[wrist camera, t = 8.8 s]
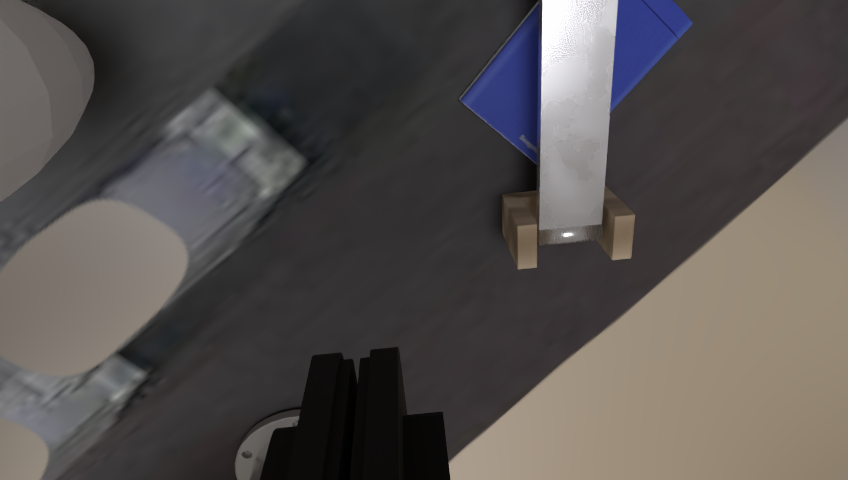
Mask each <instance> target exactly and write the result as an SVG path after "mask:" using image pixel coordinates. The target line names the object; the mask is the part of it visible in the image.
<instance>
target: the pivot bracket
mask: <svg viewBox="0 0 848 480" xmlns="http://www.w3.org/2000/svg"><path fill="white" fill-rule="evenodd" d="M501 197H502V233H503V236H504V238H505V240H506V243H507V245H508V247H509V250H510V252H511V254H512V257H513V259H514V261H515V264H516V266H517V268H518V269H526V268H537V223H536V204H537V191H527V192H517V193H506V194H501ZM634 220H635V214H634V213H633V212H632V211H631V210H630V209H629V208H627V207H626V206H625V205H624V204H623V203H622V202H621V201H620V200H619V199H618V198H617V197H616V196H615V195H614V194H613V193H612V192H611V191H610V190H609V189H608V188H607V187H606V186H605V188H604V202H603V215H602V227H603V237H602V239H601V240H598V243H599V244H600V245H601V246H602V248H603V249H604V250H605V252H606V253H607V254H608V255H609V257H610V258H611V259H612V260H619V259H629V258H631V252H632V242H633V231H634Z"/></svg>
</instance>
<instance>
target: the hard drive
mask: <svg viewBox="0 0 848 480" xmlns="http://www.w3.org/2000/svg"><path fill="white" fill-rule="evenodd" d="M692 24H693V23H692V21H691V20H690V19H689V18H688V17H687V15H686V14H685V13H684V12H683V11H682V10H681V9H680V8H679V7H678V6H677V5H676V4H675V3H674V1H673V0H618V7H617V21H616V35H615V49H614V63H613V77H612V91H611V104H610V112H611V111H612V110H613V109H614V108H615V107H616V106H617V105H618V104H619V103H620V102H621V100H622V99H623V98H624V97H625V96H626V95H627V94H628V93H629V92H630V91H631V90H632V89H633V88H634V86H635V85H636V84H637V83H638V82H639V81H640V80H641V79H642V78H643V77H644V76H645V75H646V74H647V72H648V71H649V70H650V69H651V68H652V67H653V66H654V65H655V64H656V63H657V62H658V61H659V60H660V59H661V57H662V56H663V55H664V54H665V53H666V52H667V51H668V50H669V49H670V48H671V47H672V45H673V44H674V43H675V42H676V41H677V40H678V39H679V38H680V37H681V36H682V35H683V34H684V33H685V32H686V31H687V30H688V28H689V27H690V26H691V25H692ZM538 38H539V1H538V2H537V3H536V4H535V6H534V7H533V8H532V9H531V11H530V12H529V13H528V14H527V15H526V17H525V18H524V19H523V20H522V22H521V23H520V24H519V25H518V27H517V28H516V29H515V30H514V31H513V33H512V34H511V35H510V36H509V38H508V39H507V40H506V41H505V43H504V44H503V45H502V46H501V47H500V49H499V50H498V51H497V52H496V54H495V55H494V56H493V57H492V59H491V60H490V61H489V62H488V63H487V65H486V66H485V67H484V68H483V70H482V71H481V72H480V73H479V74H478V76H477V77H476V78H475V79H474V81H473V82H472V83H471V84H470V86H469V87H468V88H467V89H466V90H465V92H464V93H463V94H462V95H461V97H460V98H459V100H460V101H461V102H462V103H463V104H464V105H465V106H467V107H468V108H469V109H470V110H471V111H473V112H474V113H475V114H476V115H477V116H479V117H480V118H481V119H482V120H483V121H485V122H486V123H487V124H488V125H489V126H491V127H492V128H493V129H494V130H495V131H497V132H498V133H499V134H500V135H502V136H503V137H504V138H505V139H506V140H508V141H509V142H510V143H511V144H512V145H514V146H515V147H516V148H517V149H518V150H520V151H521V152H522V153H523V154H524V155H526V156H527V157H528V158H529V159H531V160H532V161H533V162H534V163H535V164H537V121H538Z"/></svg>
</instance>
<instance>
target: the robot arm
mask: <svg viewBox="0 0 848 480" xmlns="http://www.w3.org/2000/svg"><path fill="white" fill-rule="evenodd" d="M235 475H236V478H237V480H450V473H449V464H448V455H447V446H446V437H445V428H444V419H443V412H434V413H424V414H414V415H407V409H406V401H405V393H404V386H403V378H402V370H401V362H400V354H399V348H398V347H393V348H382V349H372V350H371V351H370V357H367V358H361V359H360V366H359V378H358V384H357V378H356V372H355V367H354V362H353V359H347V360H344V359H343V355H342V353H332V354H321V355H314V356H312V359H311V364H310V368H309V373H308V378H307V382H306V387H305V392H304V396H303V401H302V406H301V409H299V410H291V411H286V412H281V413H278V414H276V415H273V416H270V417H268V418H266V419H264V420H263V421H261V422H259V423H258V424H256V425H255V426H254V427H253V428H252V429H251V430H250V431H249V432H248V433H247V434H246V436H245V437H244V439H243V440H242V441H241V444H240V447H239V449H238V452H237V456H236V460H235Z"/></svg>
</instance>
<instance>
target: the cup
mask: <svg viewBox="0 0 848 480" xmlns="http://www.w3.org/2000/svg"><path fill="white" fill-rule="evenodd" d="M93 86H94V62H93V60H92V58H91V56H90V53H89V51H88V49H87V47H86V45H85V44H84V43H83V42H82V41H81V40H80V39H79V37H78V36H77V35H76V34H75V33H74V32H73V31H72V30H70V29H69V28H68V27H67V26H65V25H64V24H63V23H61V22H59V21H58V20H56V19H54V18H53V17H51V16H49V15H48V14H46V13H44V12H42V11H41V10H39V9H37V8H35V7H33V6H31V5H29V4H27V3H25V2H23V1H21V0H0V202H1V201H2V200H4V199H5V198H7V197H8V196H10V195H11V194H12V193H13V192H15V191H16V190H17V189H19V188H20V187H21V186H22V185H24V184H25V183H26V182H27V181H29V180H30V179H31V178H33V177H34V176H35V175H36V174H38V173H39V172H40V171H41V169H42V168H43V167H44V166H45V165H46V164H47V163H48V162H49V160H50V159H51V158H52V157H53V156H54V155H55V154H56V152H57V151H58V150H59V149H60V148H61V147H62V146H63V145H64V143H65V142H66V141H67V140H68V139H69V138H70V137H71V136H72V134H73V132H74V130H75V128H76V126H77V124H78V122H79V120H80V118H81V116H82V114H83V112H84V110H85V108H86V106H87V103H88V101H89V99H90V96H91V94H92V92H93Z"/></svg>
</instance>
